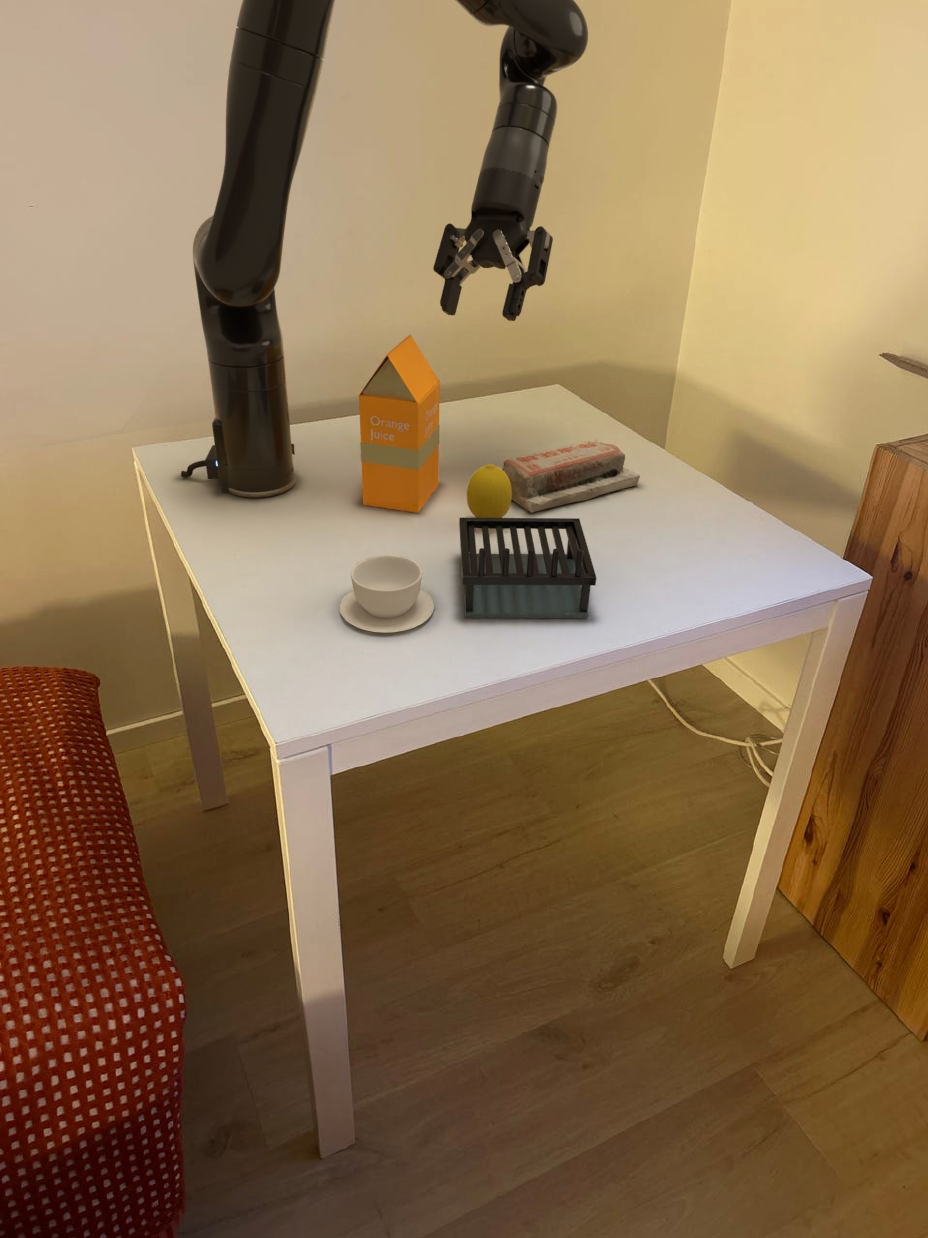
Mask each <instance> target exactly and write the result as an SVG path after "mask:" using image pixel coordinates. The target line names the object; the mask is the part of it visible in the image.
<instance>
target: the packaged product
mask: <svg viewBox="0 0 928 1238" xmlns="http://www.w3.org/2000/svg"><path fill="white" fill-rule="evenodd" d="M625 460H626V453H624V452H623V451H622V450H621V449H620V448H619V446H617V445H615V444H614V443H613V444H612V443H604V442H601V441H600V442H599V441H589V442H584V443H583V442H582V443H578V444H575V445H569V446H564V447H561V448H556V449H551V450H545V451H542V452H537V453H531V454H527V455H522V456H518V457H514V458H508V459H506V460H504V461H503V464H502V468H501V469H502V470H503V471H504V472H505V473H506V474H507V476H508V478H509V480H510V483H511V488H512V499H511V501H514V502H515V503H516V504H518V505H520V506H521V507H522V508H524V509H525V510H526V511H529V512H530V513H536V512H539V511H543V510H546V509H550V508H554V507H559V506H562V505H563V506H564V505H568V504H573V503H576V502H582V501H587V500H590V499H594V498H596V497H598V496H602V495H604V494H609V493H611V492H615V491H619V490H624V489H627V488H631V487H635V486H638V484H639V481H640V478H641V475H640V474H637V473H636V472H634V471H632V470H629V469H628V468H625V467H624V465H625Z"/></svg>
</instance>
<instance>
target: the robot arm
mask: <svg viewBox="0 0 928 1238" xmlns="http://www.w3.org/2000/svg"><path fill="white" fill-rule="evenodd" d="M454 1H455V2H456V3H457V4H458V5H459V6H460V7H462V9H464V11H465V12H467V13H468V14H469V15H470V16H471V18H473V19H474V20H475V21H477V22H478V23H479V24H480V25H483V26H485V27H496V26H507V28H506V31H505V32H504V35H503V37H502V39H501V40H502V41H501V45H500V49H499V50H500V51H499V59H498V61H499V64H498V65H499V68H498V69H499V70H498V72H499V73H498V91H499V101H498V105H497V109H496V112H495V117H494V121H493V126H492V129H491V134H490V137H489V140H488V143H487V145H486V148H485V150H484V154H483V158H482V162H481V166H480V170H479V174H478V178H477V182H476V186H475V191H474V195H473V199H472V203H471V208H470V212H471V213H470V214H471V215H470V217H471V218H470V221H469V223H468V225H467V226H466V228H463V227H456V226H455V225H453V223H447V224H445V227H444V228H443V229H444V230H443V232H442V237H441V240H440V243H439V247H438V250H437V252H436V254H437V255H436V257H435V260H434V264H433V268H432V269H433V272H434V273H436V275H439V276H440V277H441V278H442V279H444V282H443V283H444V284H443V287H442V292H441V297H440V300H439V305H440V307H441V311H442V313H444V314H446V315H447V316H456V314H457V309H458V305H459V301H460V297H461V292H462V288H463V286H462V284H463V283H464V282H465V281H466V279H467V278H469V276H470V275H473V274H475V273H476V272H478V271H479V270H480V268H482V269H491V268H496V269H499V270H506V269H507V271H508V273H509V275H510V278H511V280H512V283H508V288H507V291H506V295H505V300H504V304H503V306H502V307H503V308H502V313H501V314H502V317H503V318H504V319H506V320H507V321H509V322H515V321H516V320H517V317H520V315H521V313H522V310H523V306H524V302H525V297H526V294H527V291H528V290H529V289H530V288H531V287H533V286H537V287H541V286H543V285H544V284H545V282H546V278H547V274H548V273H547V272H548V267H549V262H550V256H551V252H552V247H553V241H554V238H553V236H552V234H550V232H549V231H548V230H547V229H545V227H544V226H542V225H541V226H540V225H539V226H537V227H536V228H535V229H534V230H531V227H533V224H534V221H535V216H536V213H537V208H538V204H539V201H540V200H539V199H540V197H541V196H540V195H541V191H542V187H543V184H544V181H545V176H546V171H547V164H548V156H549V150H550V146H551V141H552V138H553V134H554V129H555V126H556V121H557V116H558V101H557V98H556V96H555V94H554V93H553V91H551V90H550V89H549V88H547V87H546V86H545V82H546V80H547V77H548V76H551V75H553V74H555V73H557V72H559V71H563V70H564V69H566V68H568V67H571V66H573V65H574V64H576V63H577V62H578V61H580V60H581V58H582V57H583V55H584V54H585V53H586V50H587V47H588V44H589V28H588V23H587V20H586V18H585V15H584V13H583V11H582V9H581V7H580V6H579V5H578V4H577V2H576V1H575V0H454ZM335 2H336V0H242V2H241V5H240V8H239V12H238V17H237V21H236V27H235V31H234V38H233V44H232V49H231V54H230V60H229V68H228V76H227V87H226V101H225V102H226V103H225V154H224V166H223V172H222V173H223V174H222V178H221V182H220V183H221V184H220V188H219V192H218V196H217V201H216V204H215V207H214V212H213V215H211V216H209V217H208V218H207V219H205V220H204V221H203V222H202V223H201V225H200V226H199V228H198V229H197V230H196V233H195V235H194V237H193V242H192V260H193V261H192V262H193V270H194V278H195V284H196V285H195V286H196V291H197V299H198V306H199V312H200V313H199V314H200V320H201V326H202V332H203V337H204V342H205V348H206V354H207V362H208V368H209V377H210V384H211V392H212V400H213V408H214V418H213V420H212V423H211V425H212V426H211V428H212V435H213V443H214V444H212V445H211V447H210V449H209V451H208V453H207V454H206V455H207V456H206V458H205V459H204V460H198V461H195V462H193V463H191V464H189V465H188V466H187V468H186V470H181V472H180V476H181V477H182V478H189V477H191V476H192V475H193V472H194V470H196V469H200V468H203V467H205V469H206V475H207V480H218V481H219V488H220V492H221V493H230V494H232V495H234V496H237V497H243V498H252V499H253V498H267V497H268V498H269V497H272V496H277V495H280V494H282V493H284V492H286V491H288V490H290V489H291V488H292V487H294V485H295V483H296V475H295V472H294V471H295V466H294V460H293V459H294V458H293V455H294V456H295V455H296V451H295V444H294V443H292V434H291V423H290V422H291V421H290V411H289V398H288V387H287V373H286V361H285V351H284V340H283V339H284V338H283V333H282V328H281V325H280V324H281V323H280V320H279V314H278V309H277V300H276V291H275V288H276V286H277V283H278V282H279V278H280V273H281V269H282V268H281V267H282V258H283V249H284V239H285V238H284V237H285V230H286V221H287V215H288V206H289V201H290V200H289V199H290V193H291V190H292V184H293V181H294V177H295V173H296V170H297V167H298V163H299V160H300V156H301V152H302V149H303V145H304V142H305V138H306V136H307V135H306V134H307V131H308V127H309V123H310V118H311V115H312V110H313V107H314V104H315V99H316V96H317V91H318V87H319V82H320V78H321V74H322V68H323V64H324V59H325V54H326V48H327V42H328V37H329V32H330V28H331V22H332V17H333V13H334V8H335ZM464 242H465V243H466V244H465V245H464ZM528 246H529V247H530V248H531V249H530V254H529V259H528V265H527V268H526V266H525V264H524V262H523V259H522V256H521V253H522V252H523V251H524V250H525V249H526V248H527V247H528ZM460 248H461V249H460ZM470 257H471V260H468V259H469V258H470Z"/></svg>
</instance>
